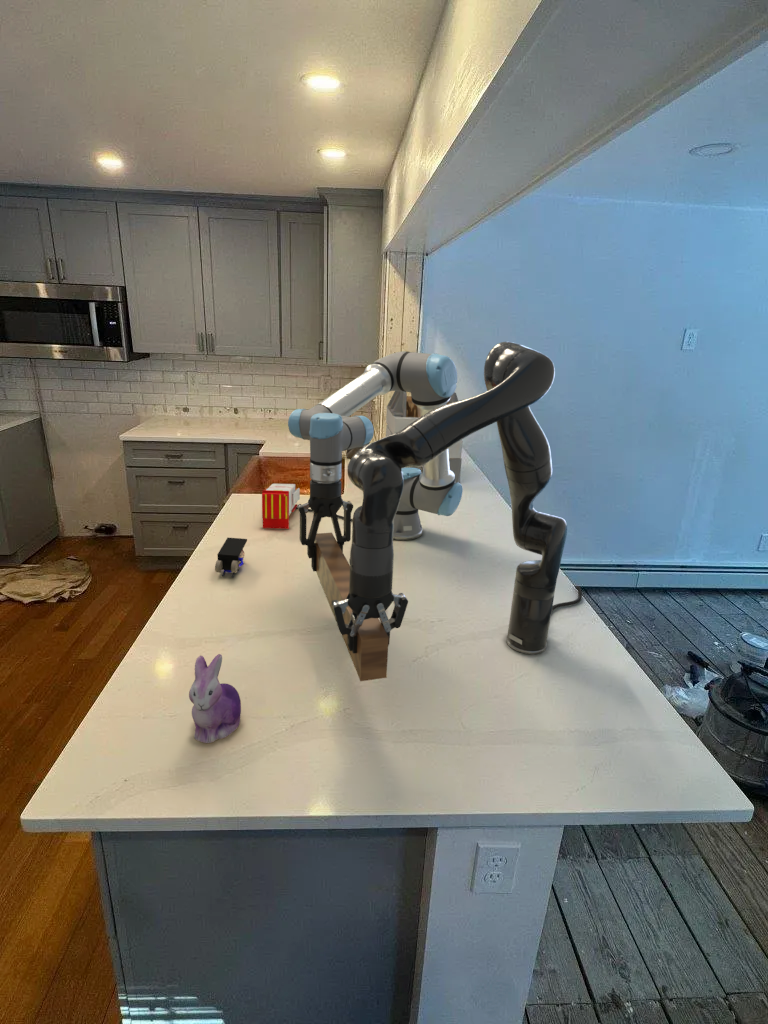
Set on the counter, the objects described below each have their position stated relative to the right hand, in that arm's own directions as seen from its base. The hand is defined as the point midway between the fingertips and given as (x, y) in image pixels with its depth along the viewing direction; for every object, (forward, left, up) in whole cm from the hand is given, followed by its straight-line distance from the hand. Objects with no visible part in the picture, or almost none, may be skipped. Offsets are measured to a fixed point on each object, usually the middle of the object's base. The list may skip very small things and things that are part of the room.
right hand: (368, 648), depth 104 cm
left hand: (-21, -36, -3) cm, 42 cm away
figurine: (+22, -17, -16) cm, 32 cm away
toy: (-56, -101, -16) cm, 116 cm away
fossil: (-143, -150, -16) cm, 208 cm away
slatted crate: (-142, -106, -16) cm, 178 cm away
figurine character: (-17, -73, -16) cm, 77 cm away
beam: (-11, -18, -4) cm, 21 cm away
